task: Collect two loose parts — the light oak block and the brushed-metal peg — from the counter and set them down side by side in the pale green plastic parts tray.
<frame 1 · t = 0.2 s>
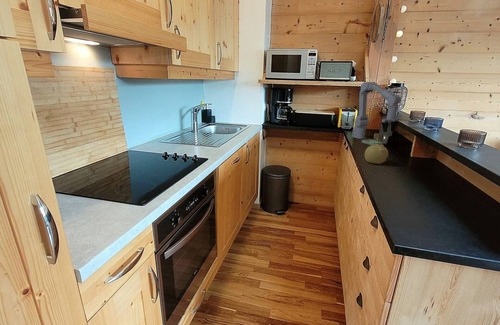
hand: (388, 131, 188), 10 cm above the countertop, tool pointing down, fingers open, 7 cm apart
pale yellow round ball: (374, 162, 148), on the countertop
metal peg: (384, 143, 195), on the countertop
parts tray: (371, 143, 193), on the countertop
skincare box: (385, 135, 225), on the countertop
oak block: (377, 141, 201), on the countertop
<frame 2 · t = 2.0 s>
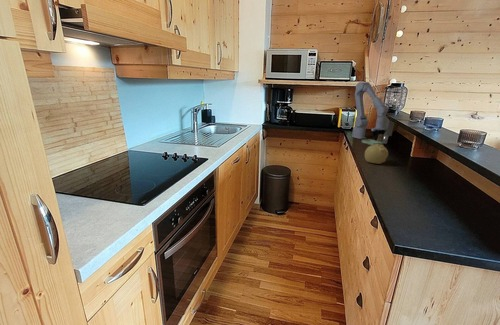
hand: (377, 139, 200), 1 cm above the countertop, tool pointing down, fingers closed on oak block, 4 cm apart
oak block: (377, 141, 200), on the countertop, touching gripper
everything else where it was.
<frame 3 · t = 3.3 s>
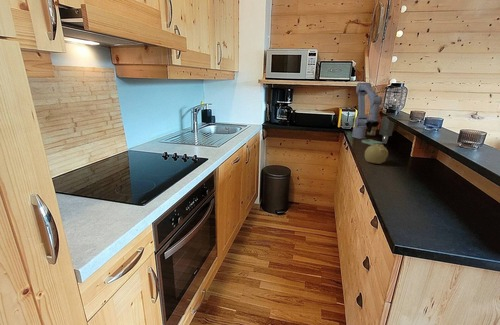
hand: (371, 131, 193), 8 cm above the countertop, tool pointing down, fingers closed on oak block, 4 cm apart
oak block: (371, 134, 194), point 6 cm above the countertop, touching gripper
everything else where it was.
when the fingers open (3 cm above the countertop, at t = 4.7 s): oak block stays where it is, resting on parts tray.
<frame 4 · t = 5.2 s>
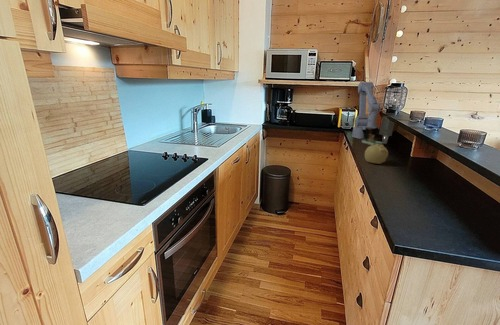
hand: (369, 138, 195), 3 cm above the countertop, tool pointing down, fingers open, 7 cm apart
oak block: (369, 142, 195), resting on parts tray
everything else where it was.
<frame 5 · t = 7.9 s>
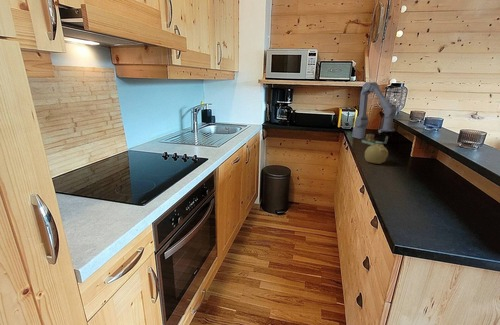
hand: (384, 141, 194), 1 cm above the countertop, tool pointing down, fingers closed on metal peg, 4 cm apart
metal peg: (384, 143, 195), on the countertop, touching gripper
everything else where it was.
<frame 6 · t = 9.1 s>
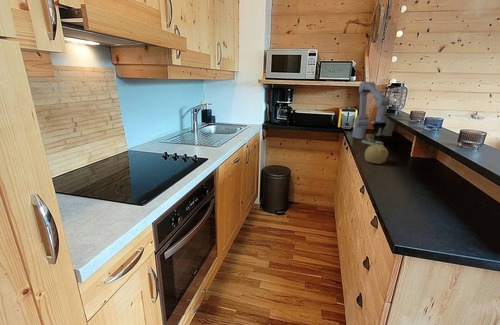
hand: (377, 133, 188), 8 cm above the countertop, tool pointing down, fingers closed on metal peg, 4 cm apart
metal peg: (377, 135, 189), point 7 cm above the countertop, touching gripper
everything else where it was.
when the fingers open (3 cm above the countertop, at t = 10.5 s): metal peg drops 1 cm, resting on parts tray.
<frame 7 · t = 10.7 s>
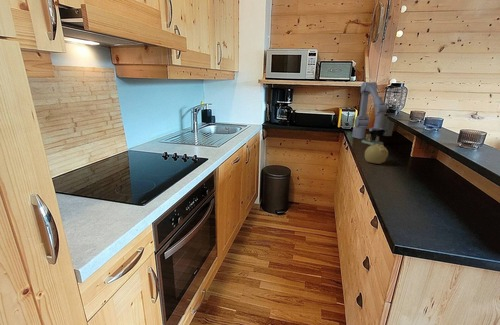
hand: (375, 140, 190), 3 cm above the countertop, tool pointing down, fingers open, 5 cm apart
metal peg: (375, 144, 190), resting on parts tray
everything else where it was.
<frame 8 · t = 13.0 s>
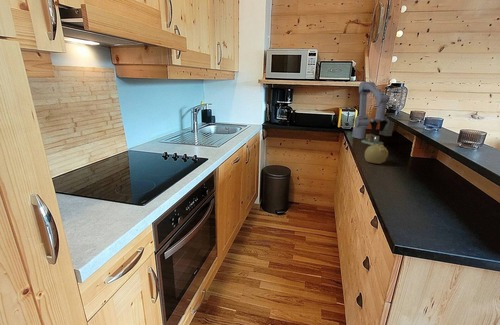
hand: (377, 131, 188), 10 cm above the countertop, tool pointing down, fingers open, 7 cm apart
nothing on the countertop moved.
at the end: oak block inside the target area on the parts tray (2.6 cm from its centre), point 0.4 cm above the parts tray's base; metal peg inside the target area on the parts tray (3.1 cm from its centre), point 0.4 cm above the parts tray's base; metal peg tilted 1° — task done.
